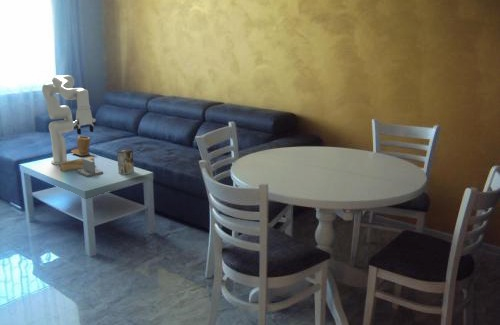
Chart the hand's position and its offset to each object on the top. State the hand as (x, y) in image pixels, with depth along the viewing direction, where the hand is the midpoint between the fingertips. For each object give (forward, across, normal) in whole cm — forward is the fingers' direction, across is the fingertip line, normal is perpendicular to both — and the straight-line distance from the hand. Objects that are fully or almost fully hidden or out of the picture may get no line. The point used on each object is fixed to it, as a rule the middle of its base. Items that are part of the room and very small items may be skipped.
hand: (85, 132), depth 323 cm
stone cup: (+30, -30, -50) cm, 66 cm away
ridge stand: (+30, -3, -4) cm, 30 cm away
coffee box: (+30, -20, +16) cm, 39 cm away
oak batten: (+30, -6, -21) cm, 37 cm away
